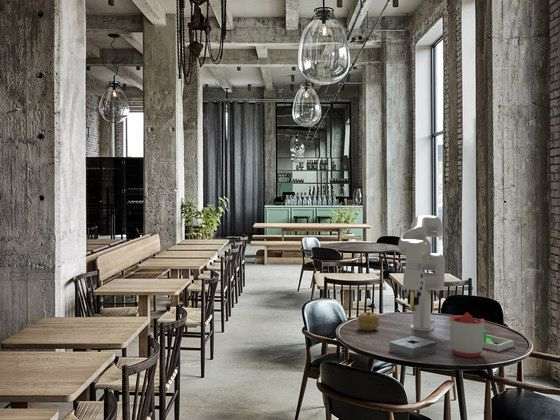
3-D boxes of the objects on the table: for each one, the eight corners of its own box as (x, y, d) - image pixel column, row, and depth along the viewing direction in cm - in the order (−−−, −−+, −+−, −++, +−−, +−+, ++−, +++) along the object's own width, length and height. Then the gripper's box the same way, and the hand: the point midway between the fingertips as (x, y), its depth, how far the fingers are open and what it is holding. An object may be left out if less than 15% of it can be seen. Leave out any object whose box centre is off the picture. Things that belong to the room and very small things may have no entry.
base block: (412, 344, 276) (412, 335, 276) (436, 351, 265) (436, 341, 265) (389, 351, 265) (389, 341, 265) (412, 358, 254) (412, 348, 254)
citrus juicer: (493, 355, 259) (494, 313, 258) (469, 361, 250) (470, 317, 249) (466, 347, 272) (466, 307, 272) (442, 352, 263) (443, 311, 262)
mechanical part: (494, 347, 272) (494, 331, 272) (481, 347, 273) (481, 331, 273) (489, 341, 284) (489, 326, 283) (477, 340, 285) (477, 325, 284)
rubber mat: (411, 335, 293) (411, 334, 293) (426, 339, 285) (426, 338, 285) (399, 339, 287) (399, 338, 287) (414, 343, 279) (414, 342, 279)
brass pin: (412, 309, 270) (412, 289, 270) (417, 310, 268) (417, 290, 268) (408, 310, 268) (408, 289, 268) (413, 311, 266) (413, 290, 266)
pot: (376, 327, 312) (376, 309, 311) (381, 332, 300) (381, 314, 300) (356, 327, 311) (356, 309, 311) (359, 332, 300) (359, 314, 299)
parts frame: (476, 337, 289) (477, 332, 289) (513, 346, 274) (513, 340, 274) (461, 342, 280) (461, 336, 280) (498, 351, 265) (498, 345, 265)
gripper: (432, 267, 264) (431, 306, 264) (405, 264, 276) (404, 301, 277) (422, 269, 259) (422, 307, 259) (395, 265, 272) (394, 302, 272)
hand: (413, 304), depth 268 cm, fingers closed on brass pin, 3 cm apart
